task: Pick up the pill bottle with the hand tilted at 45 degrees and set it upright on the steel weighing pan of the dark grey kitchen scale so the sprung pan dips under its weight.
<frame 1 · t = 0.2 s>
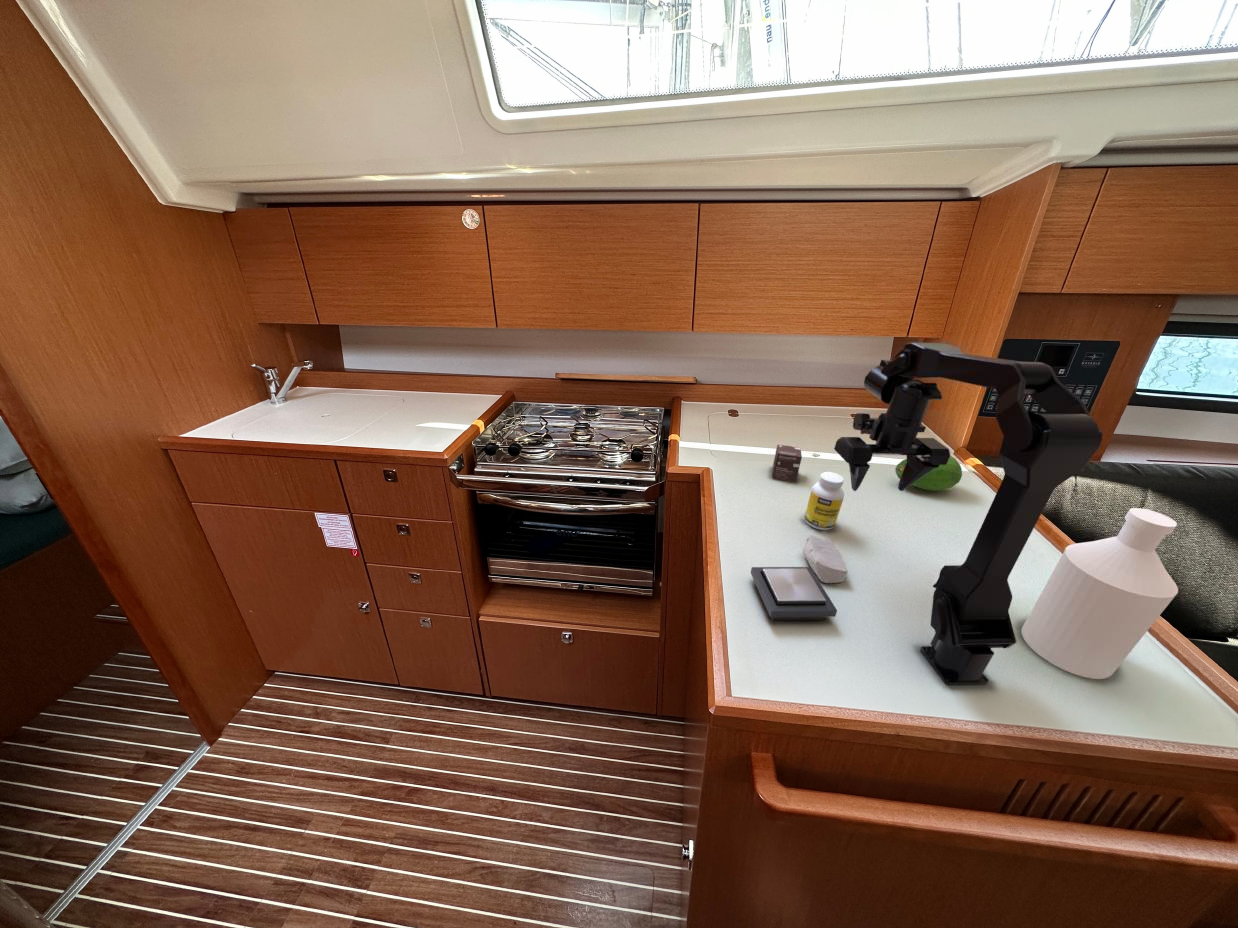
hand: (877, 489, 90), 14 cm above the worktop, tool pointing down, fingers open, 9 cm apart
bottle: (1065, 649, 75), on the worktop
scale: (788, 600, 82), on the worktop
pill bottle: (819, 523, 104), on the worktop
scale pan: (792, 586, 81), point 3 cm above the worktop, slide at 0.0 cm
fruit: (921, 488, 121), on the worktop
box: (783, 475, 124), on the worktop
pale grey rock: (821, 567, 91), on the worktop
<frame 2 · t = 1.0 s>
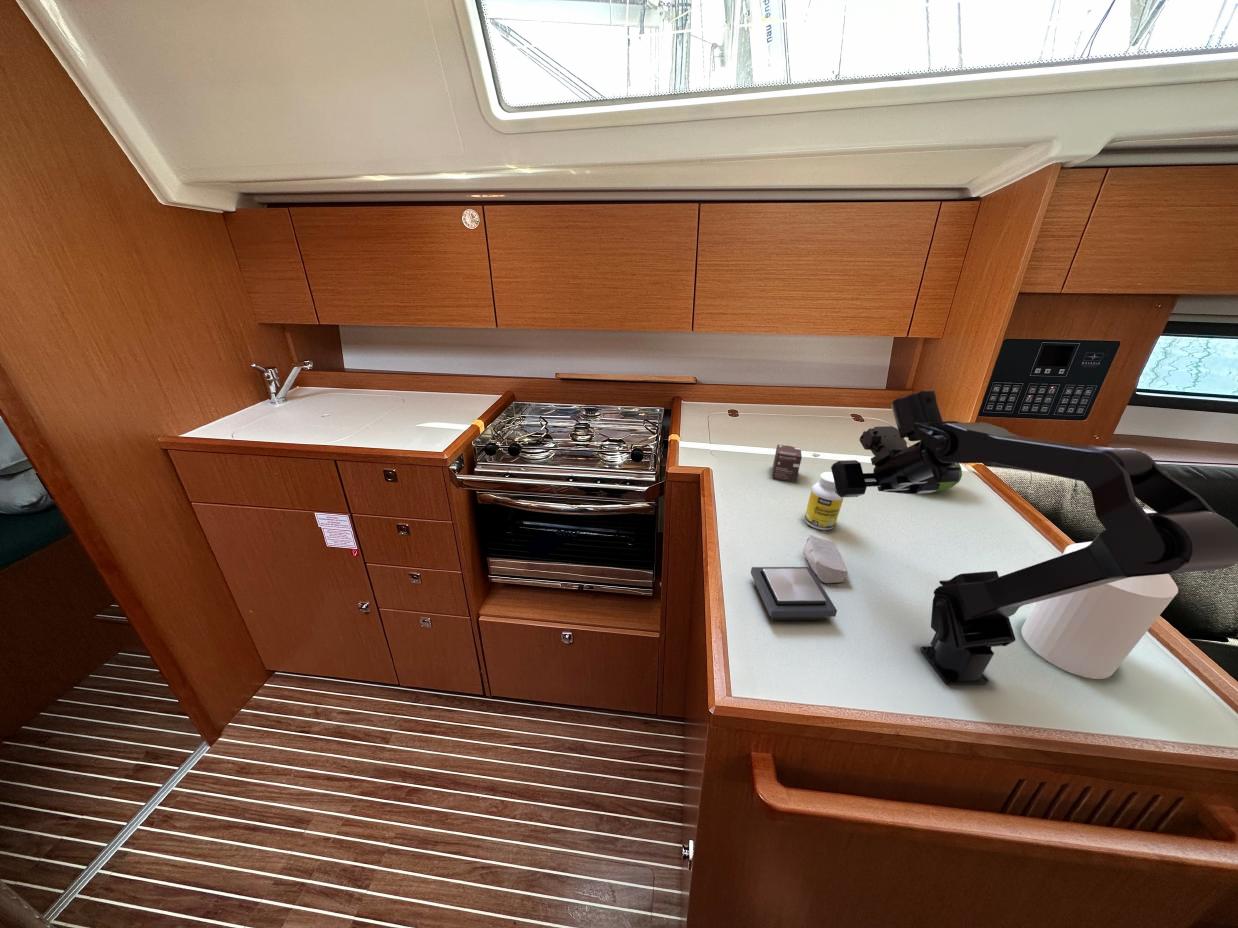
hand: (857, 489, 91), 13 cm above the worktop, tool tilted 45°, fingers open, 9 cm apart
nothing on the worktop moved.
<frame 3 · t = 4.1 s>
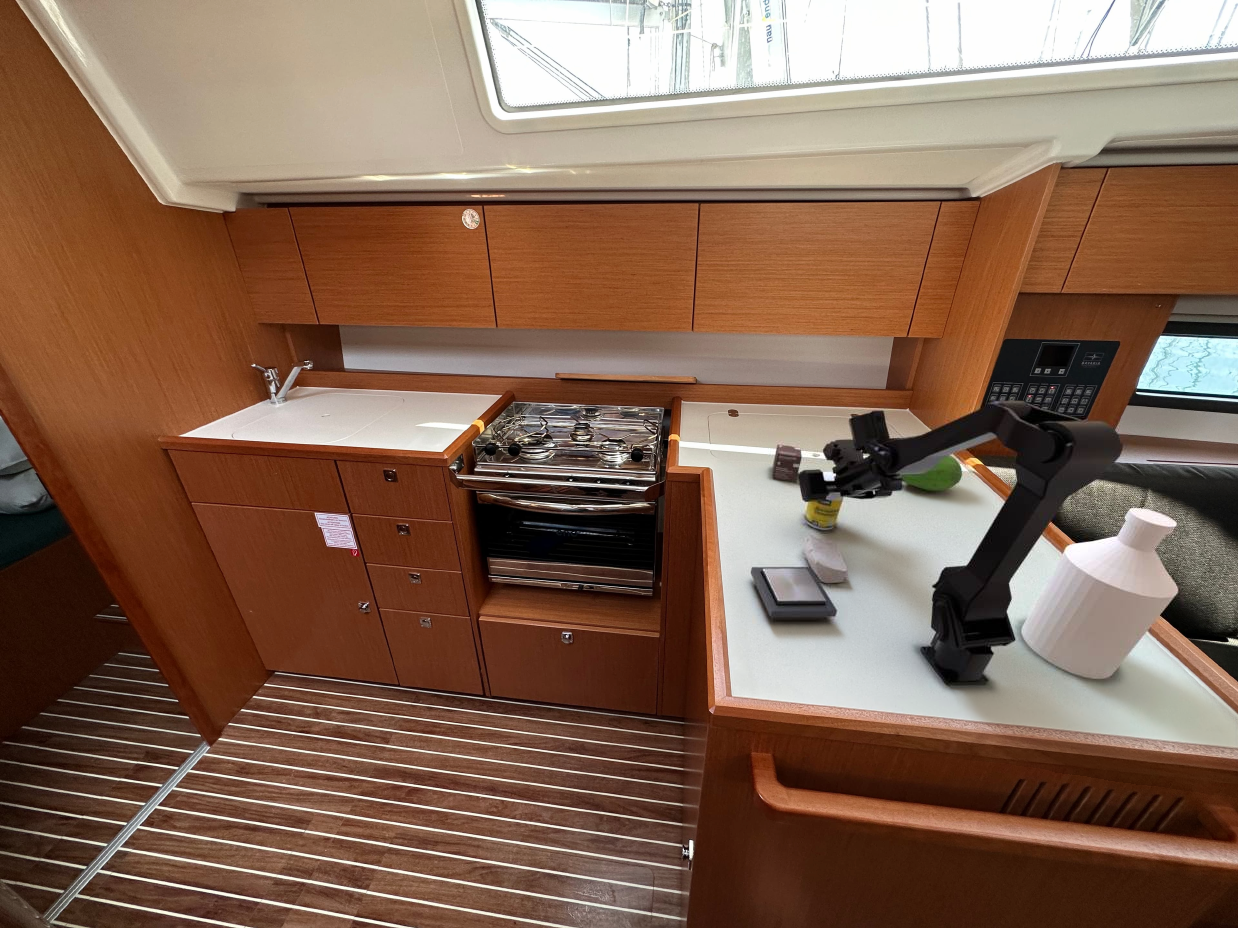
hand: (823, 494, 102), 7 cm above the worktop, tool tilted 45°, fingers closed on pill bottle, 6 cm apart
pill bottle: (818, 523, 104), on the worktop, touching gripper
everything else where it was.
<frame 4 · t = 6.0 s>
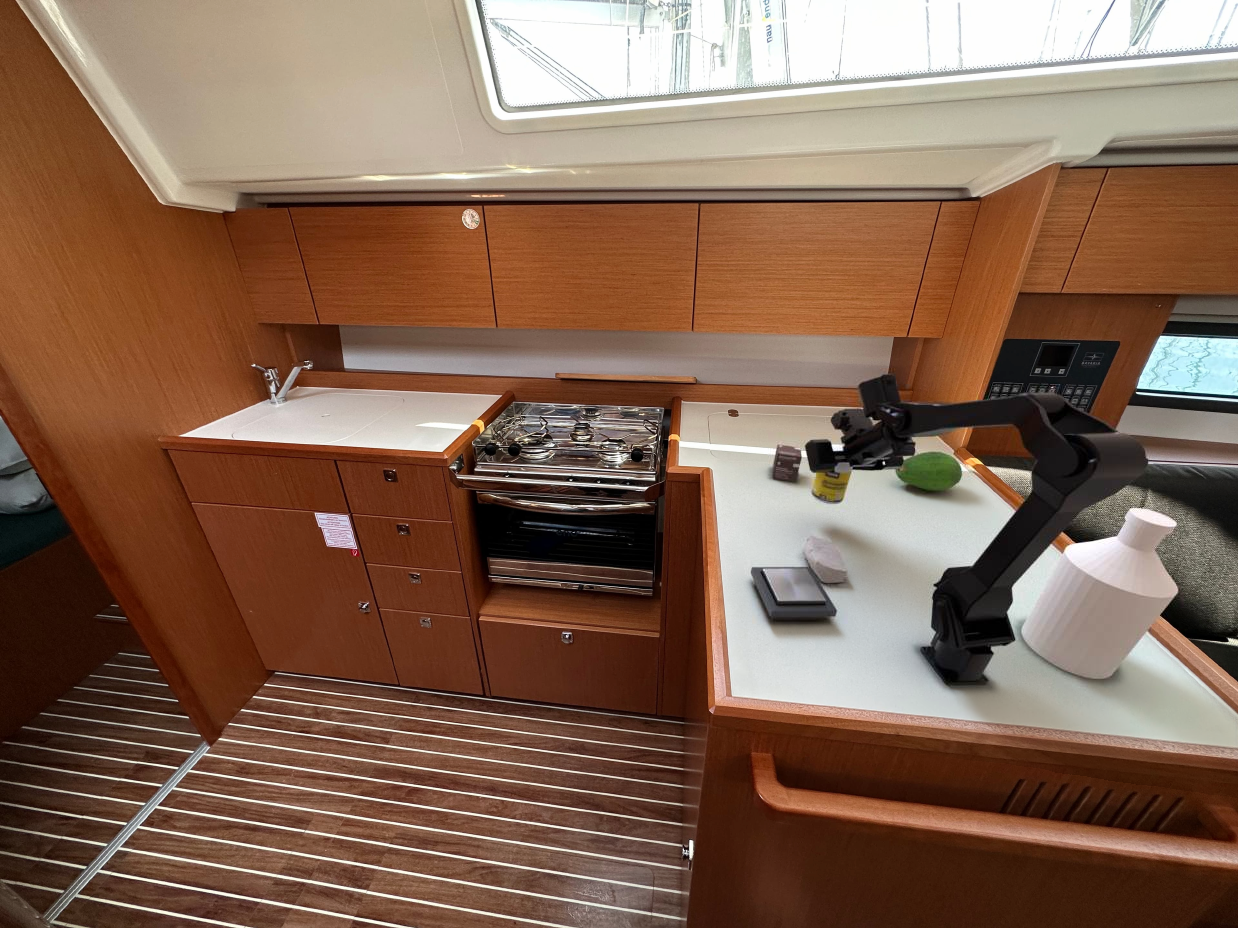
hand: (830, 467, 99), 13 cm above the worktop, tool tilted 45°, fingers closed on pill bottle, 6 cm apart
pill bottle: (826, 498, 101), point 6 cm above the worktop, touching gripper
everything else where it was.
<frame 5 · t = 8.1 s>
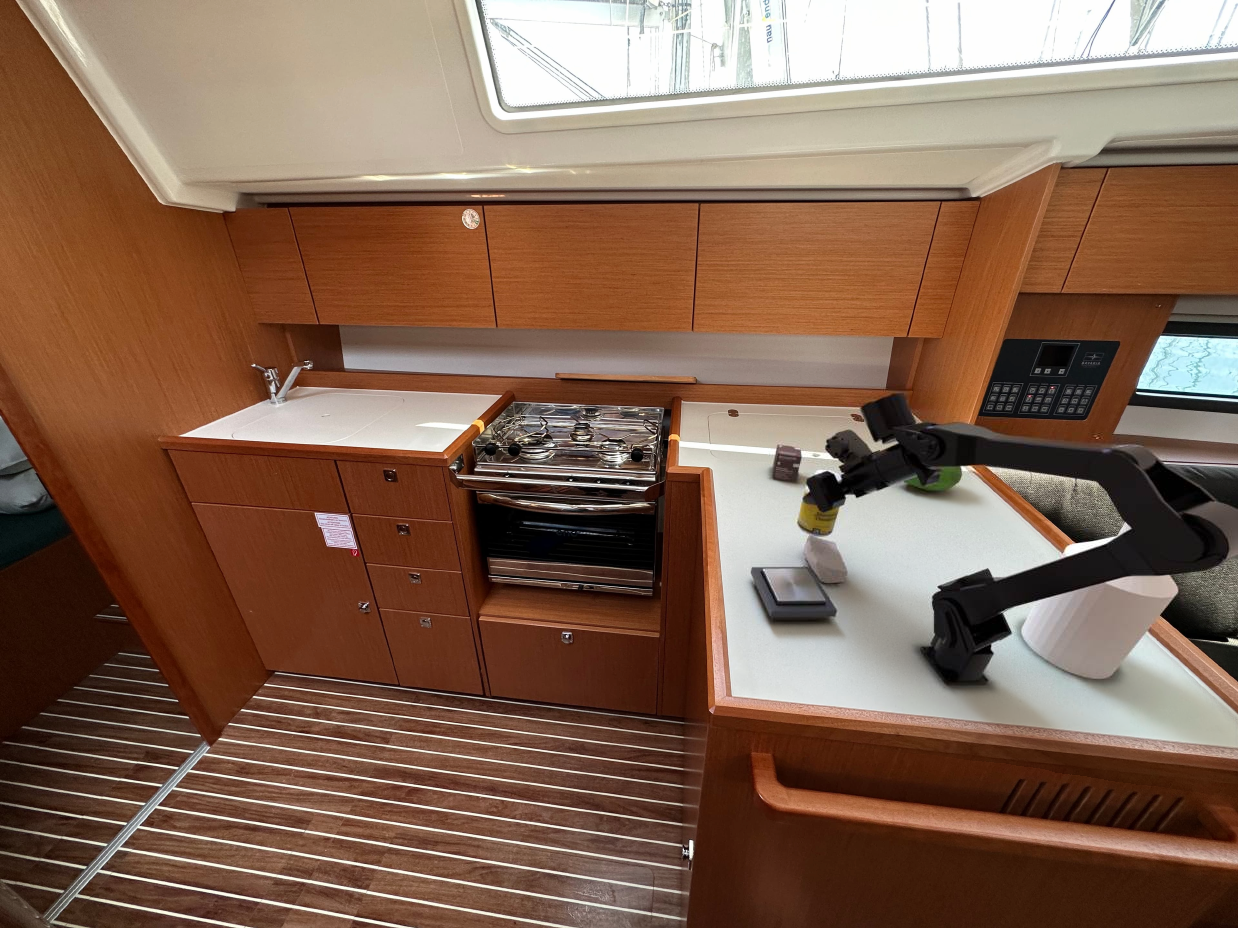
hand: (815, 495, 88), 13 cm above the worktop, tool tilted 45°, fingers closed on pill bottle, 6 cm apart
pill bottle: (814, 529, 90), point 6 cm above the worktop, touching gripper
everything else where it was.
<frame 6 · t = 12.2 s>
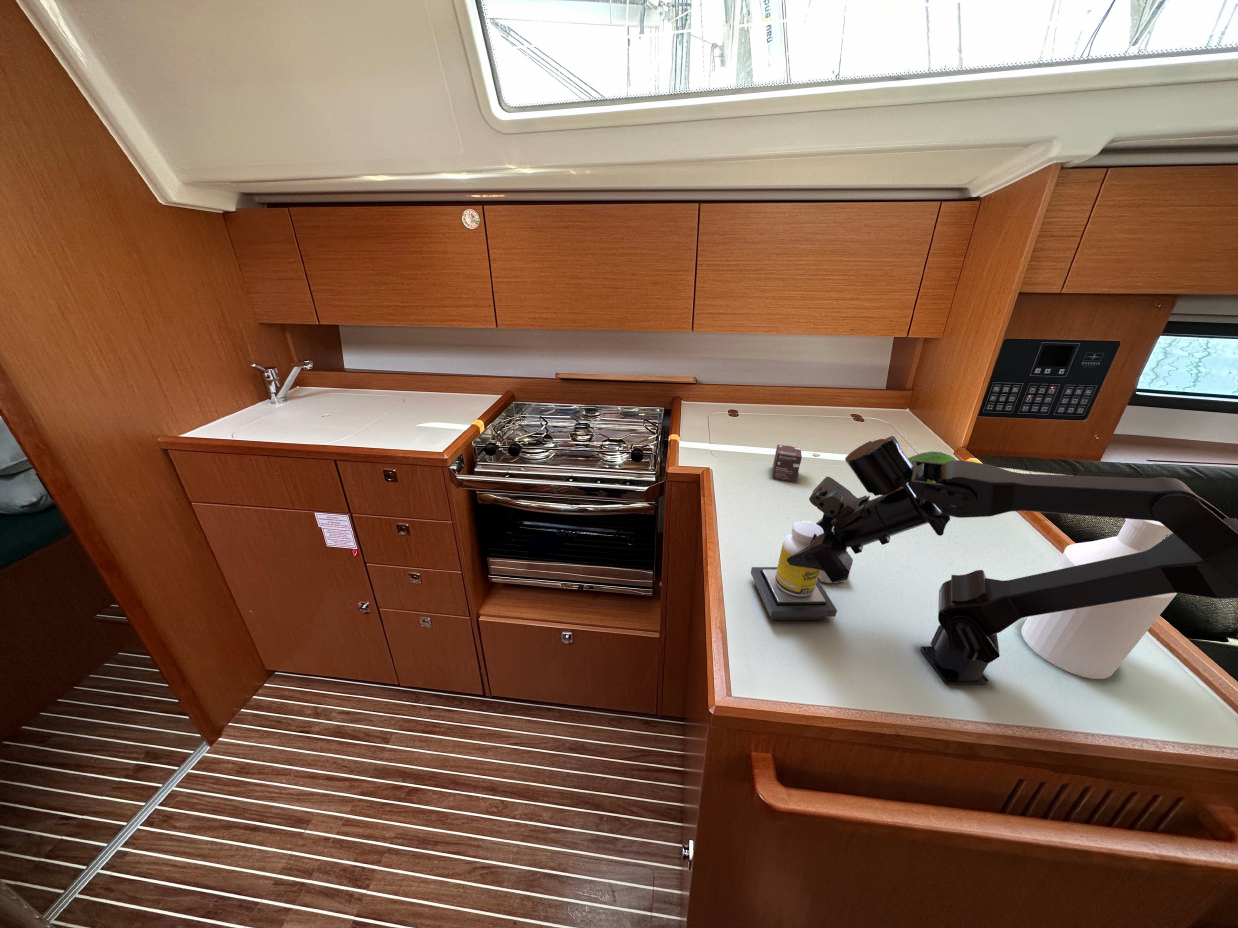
hand: (793, 551, 78), 10 cm above the worktop, tool tilted 45°, fingers closed on pill bottle, 6 cm apart
pill bottle: (793, 585, 80), point 4 cm above the worktop, touching gripper
everything else where it was.
when the fingers open (10 cm above the worktop, at t = 12.3 s): pill bottle stays where it is, resting on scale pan.
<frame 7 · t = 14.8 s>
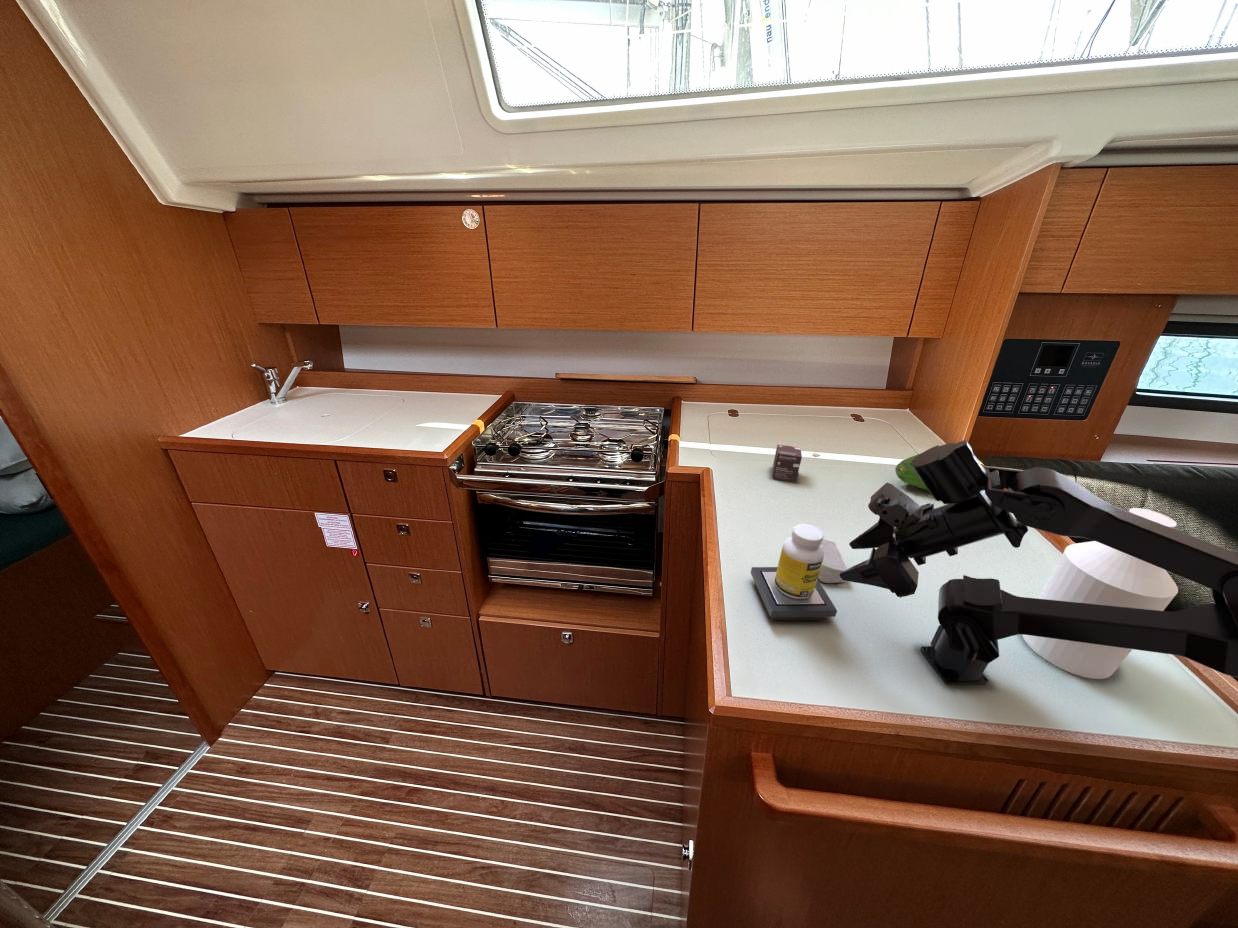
hand: (846, 560, 74), 12 cm above the worktop, tool tilted 45°, fingers open, 9 cm apart
pill bottle: (793, 588, 81), point 3 cm above the worktop, touching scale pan
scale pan: (791, 589, 81), point 2 cm above the worktop, slide at -0.7 cm, touching pill bottle
everything else where it was.
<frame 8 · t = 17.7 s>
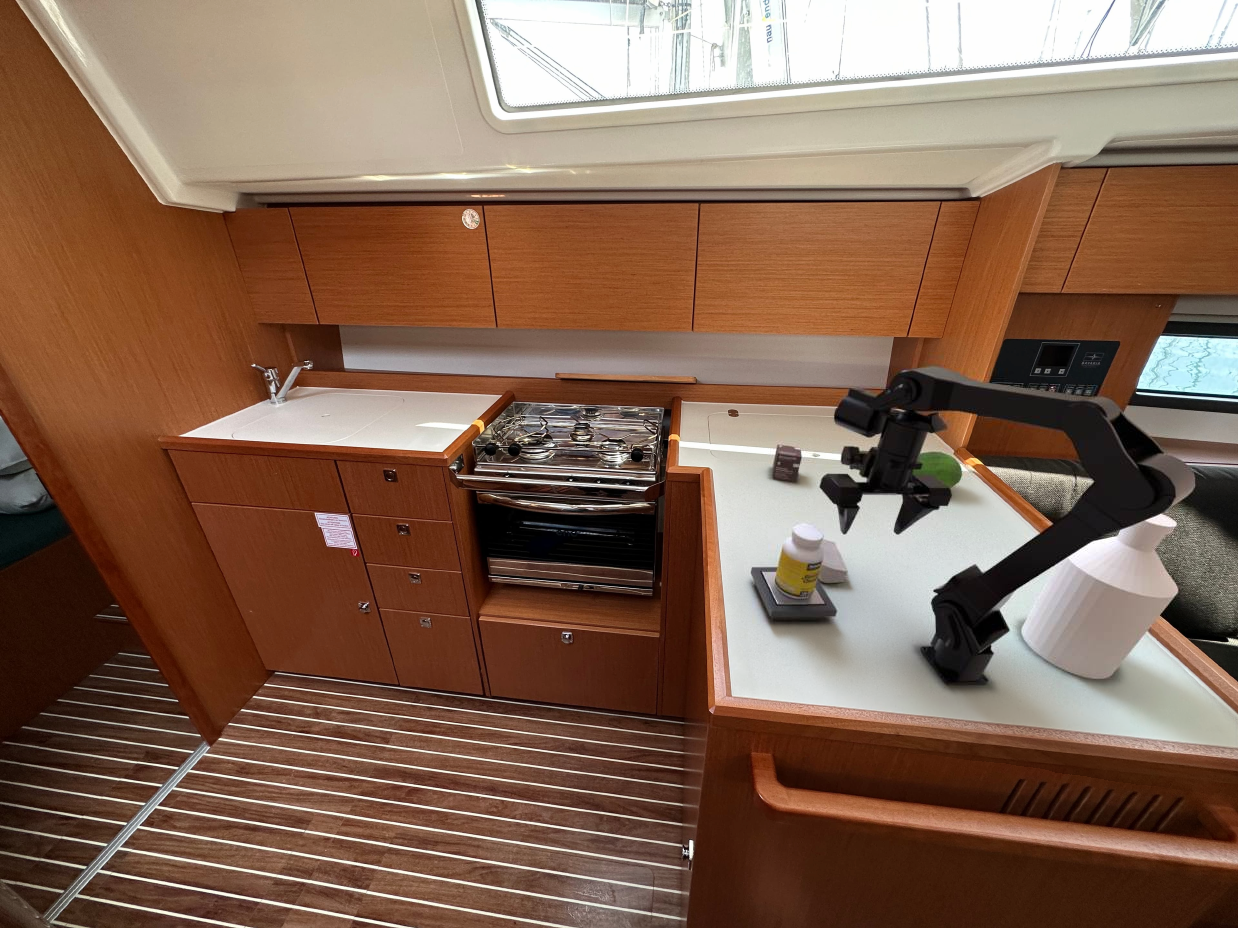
hand: (869, 533, 79), 13 cm above the worktop, tool pointing down, fingers open, 9 cm apart
nothing on the worktop moved.
at the end: pill bottle 0.1 cm off-centre on the scale, point 2.9 cm above the scale's base; pill bottle tilted 0°; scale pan pushed in 0.8 cm at the most during the clip, back to 0.7 cm at the end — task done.
